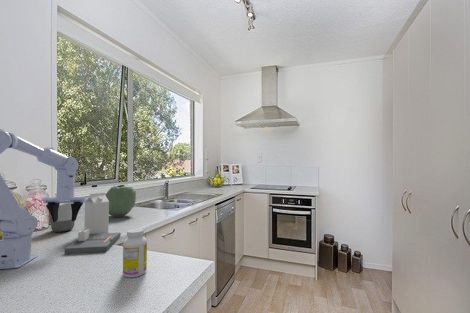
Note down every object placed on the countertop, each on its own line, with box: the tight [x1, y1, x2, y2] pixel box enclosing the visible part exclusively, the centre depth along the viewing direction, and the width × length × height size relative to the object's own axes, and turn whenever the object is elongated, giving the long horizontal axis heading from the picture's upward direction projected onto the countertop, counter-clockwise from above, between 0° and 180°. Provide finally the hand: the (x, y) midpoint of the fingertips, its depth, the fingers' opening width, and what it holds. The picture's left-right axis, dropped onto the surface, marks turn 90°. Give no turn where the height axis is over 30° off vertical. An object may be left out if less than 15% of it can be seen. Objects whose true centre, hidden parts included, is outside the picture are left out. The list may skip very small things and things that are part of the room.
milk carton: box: [83, 191, 110, 234], centre depth 109 cm, size 7×7×19 cm
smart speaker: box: [50, 203, 76, 233], centre depth 115 cm, size 10×9×14 cm
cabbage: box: [105, 183, 137, 218], centre depth 146 cm, size 16×19×20 cm
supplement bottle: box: [122, 227, 148, 278], centre depth 71 cm, size 7×7×13 cm
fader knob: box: [77, 228, 89, 241], centre depth 95 cm, size 4×2×4 cm, turn 11°
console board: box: [64, 232, 121, 255], centre depth 95 cm, size 18×14×3 cm
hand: (64, 221), depth 93 cm, fingers open, 6 cm apart
